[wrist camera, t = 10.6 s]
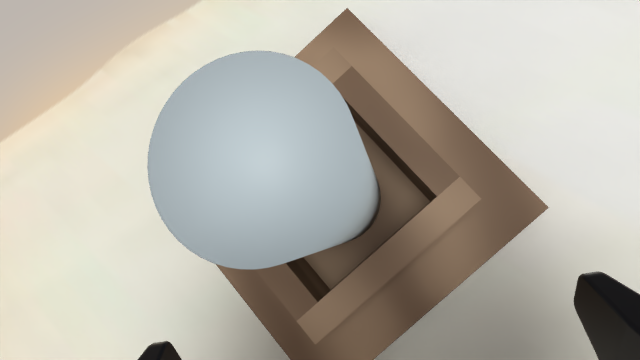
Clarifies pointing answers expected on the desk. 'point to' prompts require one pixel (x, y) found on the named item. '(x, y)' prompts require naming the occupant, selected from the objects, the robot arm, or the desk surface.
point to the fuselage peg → (260, 163)
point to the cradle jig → (390, 213)
